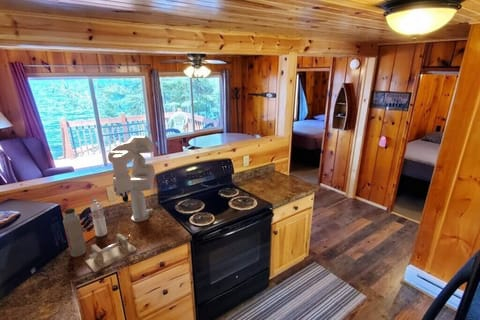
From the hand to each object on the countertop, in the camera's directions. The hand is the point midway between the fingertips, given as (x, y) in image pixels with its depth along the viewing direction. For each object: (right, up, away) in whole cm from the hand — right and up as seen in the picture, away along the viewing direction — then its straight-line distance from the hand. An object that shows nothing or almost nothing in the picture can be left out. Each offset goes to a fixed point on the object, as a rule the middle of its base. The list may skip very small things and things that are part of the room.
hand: (125, 201), depth 161 cm
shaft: (-2, -26, -13) cm, 29 cm away
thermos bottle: (-24, -29, -9) cm, 39 cm away
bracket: (-2, -30, -12) cm, 33 cm away
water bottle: (-20, -24, +9) cm, 32 cm away
